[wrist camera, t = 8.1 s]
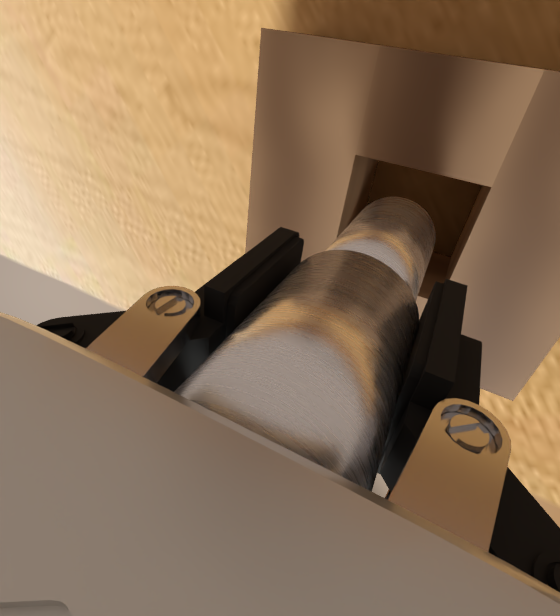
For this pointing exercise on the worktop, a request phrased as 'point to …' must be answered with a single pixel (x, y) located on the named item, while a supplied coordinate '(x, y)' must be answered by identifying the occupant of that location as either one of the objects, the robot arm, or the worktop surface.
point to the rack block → (427, 157)
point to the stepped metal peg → (329, 345)
